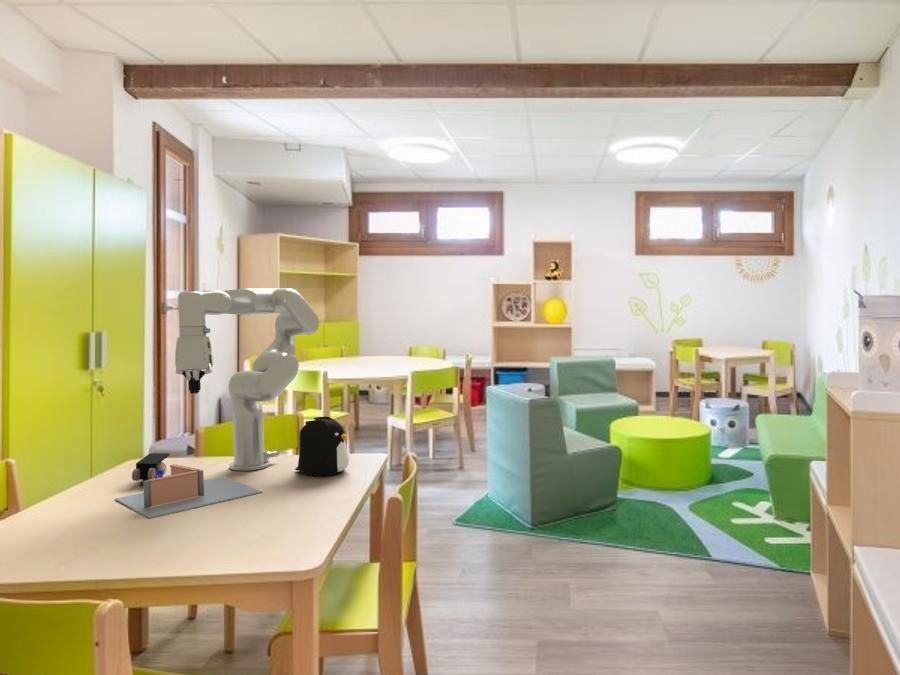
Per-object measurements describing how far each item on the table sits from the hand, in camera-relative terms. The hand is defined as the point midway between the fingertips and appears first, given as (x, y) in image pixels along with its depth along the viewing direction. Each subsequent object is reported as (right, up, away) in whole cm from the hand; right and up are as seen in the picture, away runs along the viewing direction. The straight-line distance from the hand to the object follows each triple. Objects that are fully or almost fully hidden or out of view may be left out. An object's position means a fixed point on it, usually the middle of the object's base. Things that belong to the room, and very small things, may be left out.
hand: (194, 392), depth 215 cm
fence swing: (+1, -27, -11) cm, 29 cm away
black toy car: (-14, -28, +3) cm, 31 cm away
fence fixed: (+2, -28, -21) cm, 35 cm away
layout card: (+4, -28, -15) cm, 32 cm away
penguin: (+37, -26, +11) cm, 46 cm away
